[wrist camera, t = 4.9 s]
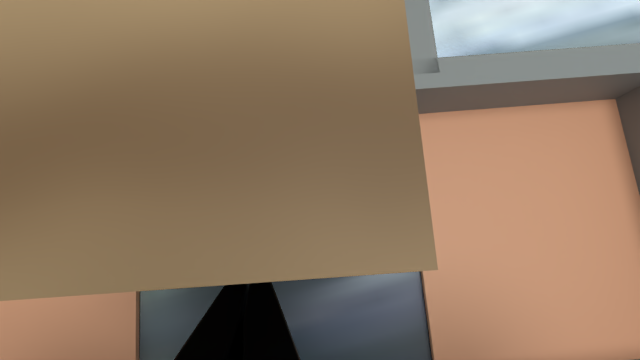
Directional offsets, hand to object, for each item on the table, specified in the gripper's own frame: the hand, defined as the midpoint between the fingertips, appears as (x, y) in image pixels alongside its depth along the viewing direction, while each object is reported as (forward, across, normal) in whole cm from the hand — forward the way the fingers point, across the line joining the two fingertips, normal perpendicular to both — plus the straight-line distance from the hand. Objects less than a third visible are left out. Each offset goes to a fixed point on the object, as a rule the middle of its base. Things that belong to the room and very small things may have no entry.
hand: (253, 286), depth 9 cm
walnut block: (+10, 0, -1) cm, 10 cm away
